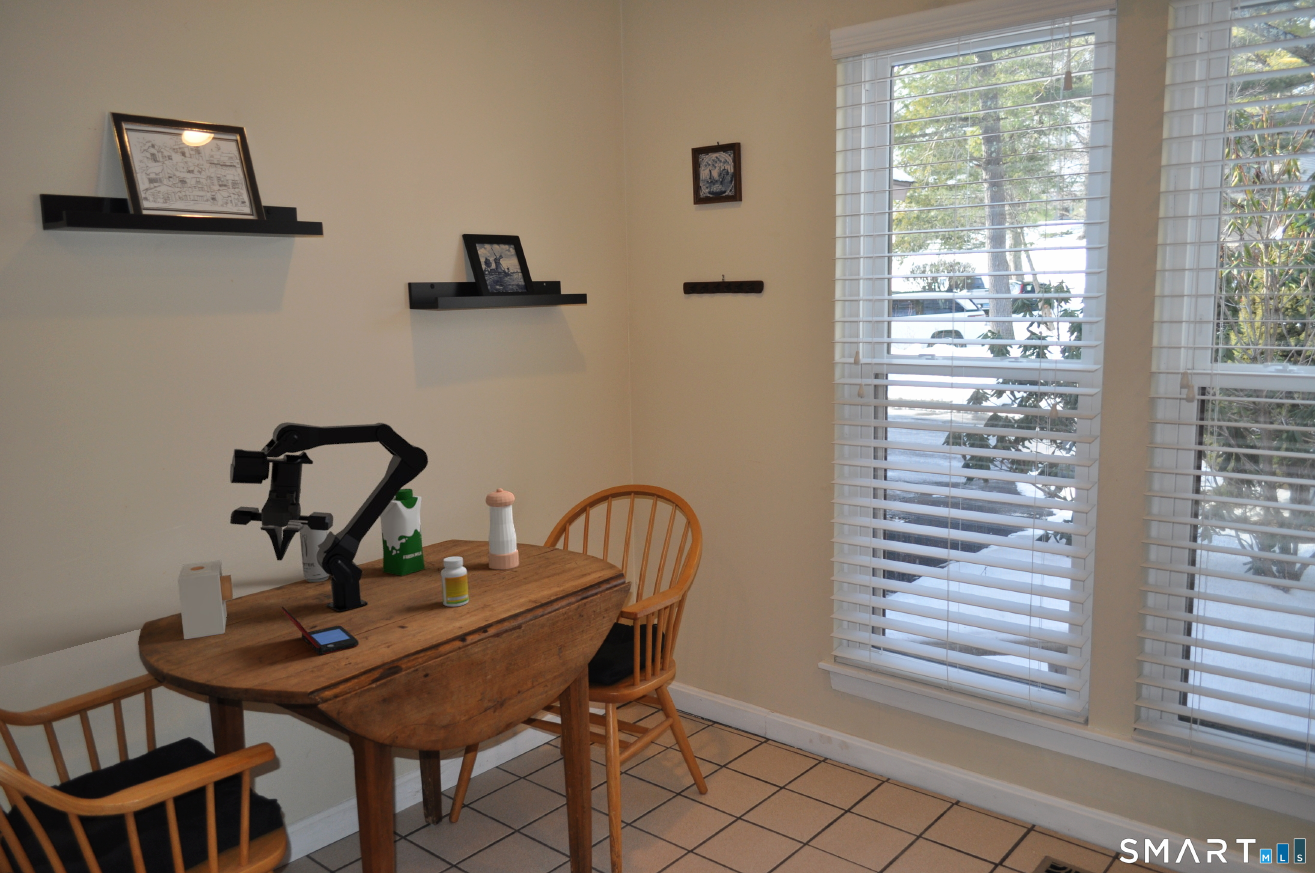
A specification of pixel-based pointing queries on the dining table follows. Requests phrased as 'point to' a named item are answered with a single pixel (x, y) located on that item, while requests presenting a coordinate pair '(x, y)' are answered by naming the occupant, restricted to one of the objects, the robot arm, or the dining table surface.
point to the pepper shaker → (502, 531)
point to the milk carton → (402, 534)
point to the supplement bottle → (454, 582)
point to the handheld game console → (326, 637)
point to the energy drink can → (312, 554)
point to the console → (202, 599)
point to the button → (226, 587)
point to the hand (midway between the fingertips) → (279, 560)
